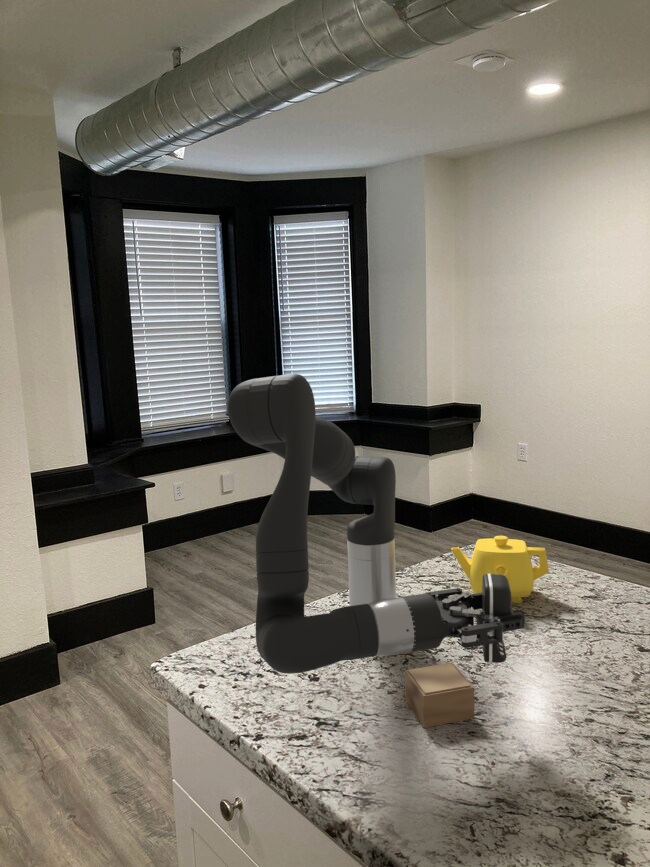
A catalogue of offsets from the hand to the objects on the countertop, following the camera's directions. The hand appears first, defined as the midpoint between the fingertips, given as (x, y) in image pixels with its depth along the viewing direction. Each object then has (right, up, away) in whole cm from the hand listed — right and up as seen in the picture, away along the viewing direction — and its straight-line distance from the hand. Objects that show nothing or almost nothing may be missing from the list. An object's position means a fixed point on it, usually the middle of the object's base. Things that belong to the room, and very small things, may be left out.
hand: (508, 608), depth 102 cm
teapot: (+11, -10, +48) cm, 50 cm away
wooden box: (-9, -17, +7) cm, 20 cm away
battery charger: (-2, -7, 0) cm, 7 cm away
